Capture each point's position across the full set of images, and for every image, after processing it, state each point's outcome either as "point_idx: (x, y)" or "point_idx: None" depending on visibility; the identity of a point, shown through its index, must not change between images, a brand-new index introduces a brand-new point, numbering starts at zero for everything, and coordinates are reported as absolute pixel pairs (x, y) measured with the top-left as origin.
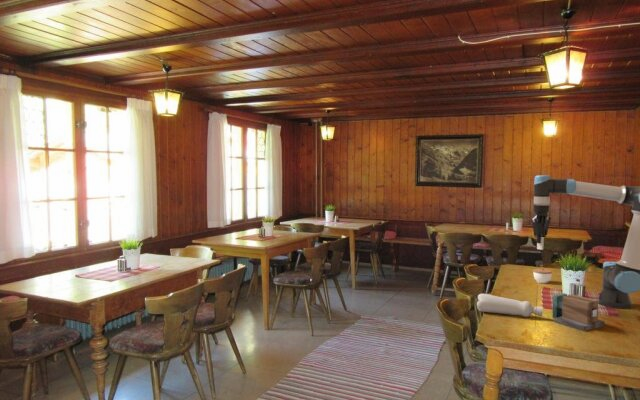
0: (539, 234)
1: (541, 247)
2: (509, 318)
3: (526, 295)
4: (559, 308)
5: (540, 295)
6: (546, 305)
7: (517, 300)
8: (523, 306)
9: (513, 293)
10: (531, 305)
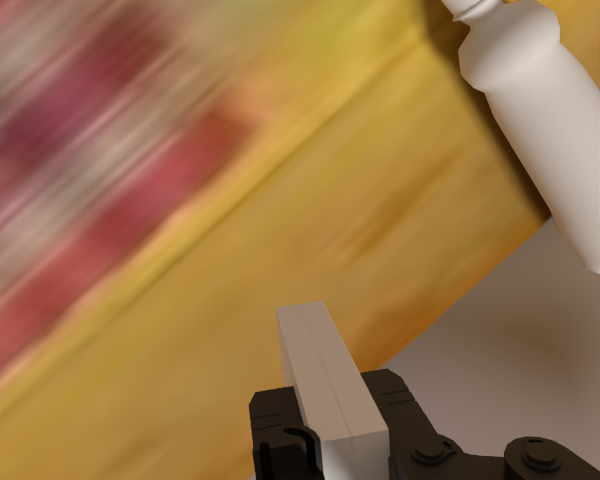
0: (525, 476)
1: (330, 318)
2: None
3: (132, 375)
4: None
5: (43, 349)
6: (189, 169)
7: (555, 90)
8: (559, 28)
9: (175, 429)
10: (510, 13)
